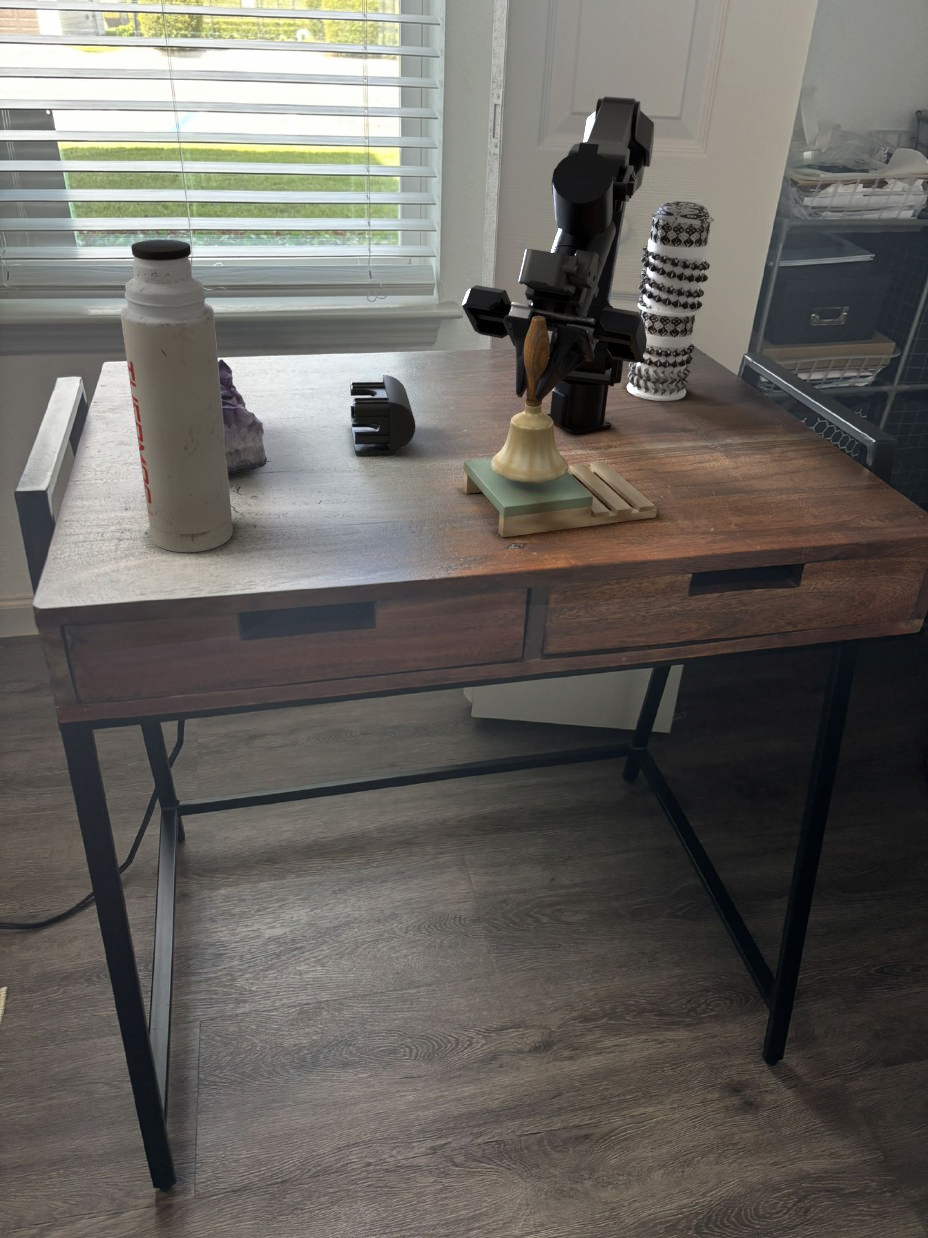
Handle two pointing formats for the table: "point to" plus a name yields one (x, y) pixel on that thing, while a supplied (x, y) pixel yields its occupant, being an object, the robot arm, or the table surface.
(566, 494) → the rack
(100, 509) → the table surface
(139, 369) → the thermos bottle
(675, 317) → the decorative candle
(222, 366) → the geode
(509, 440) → the hand bell
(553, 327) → the robot arm
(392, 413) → the end cap
